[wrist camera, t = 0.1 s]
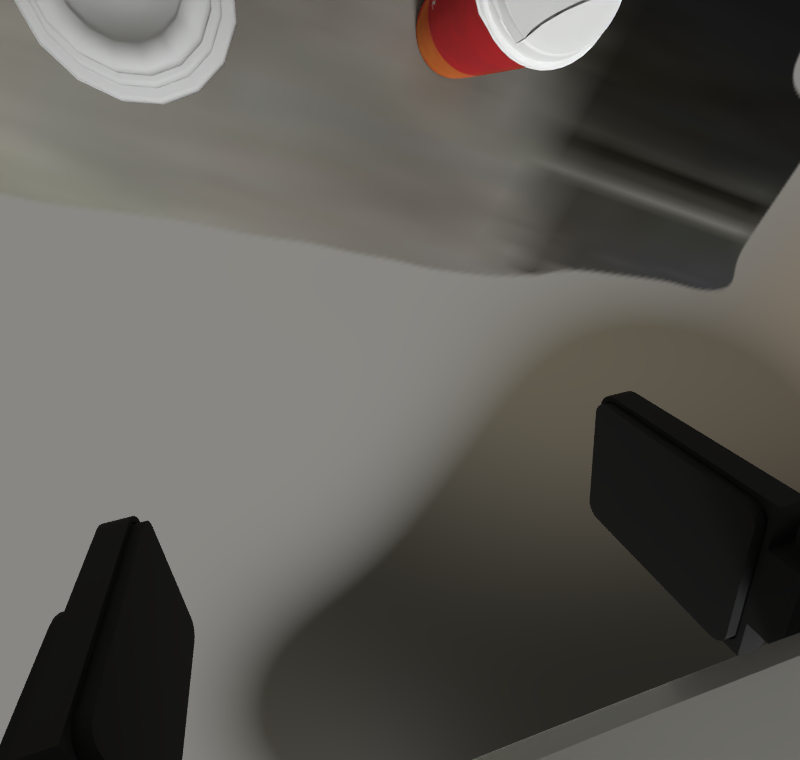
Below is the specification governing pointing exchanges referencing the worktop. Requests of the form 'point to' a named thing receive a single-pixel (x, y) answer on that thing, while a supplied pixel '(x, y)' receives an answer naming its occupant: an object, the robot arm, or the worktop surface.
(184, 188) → the worktop surface
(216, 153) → the worktop surface
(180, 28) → the coffee cup
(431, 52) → the paper cup
